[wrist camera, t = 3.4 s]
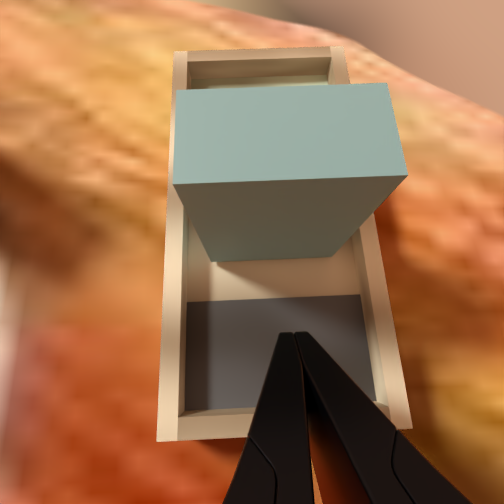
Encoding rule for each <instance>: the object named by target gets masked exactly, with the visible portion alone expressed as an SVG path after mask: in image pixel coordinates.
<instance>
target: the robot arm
mask: <svg viewBox="0 0 504 504" xmlns="http://www.w3.org/2000/svg"><path fill="white" fill-rule="evenodd" d="M310 454H311V455H310ZM311 458H312V462H313V466H314V470H315V474H316V478H317V482H318V486H319V490H320V494H321V498H322V502H323V504H473V503H472V502H471V501H470V500H468V499H467V498H466V497H465V496H464V495H463V494H462V493H461V492H460V491H459V490H458V489H457V488H456V487H455V486H454V485H452V484H451V483H450V482H449V481H448V480H447V479H446V478H445V477H444V476H443V475H442V474H441V473H440V472H439V471H438V470H437V469H436V468H435V467H434V466H433V465H432V464H431V463H430V462H429V461H428V460H427V459H426V458H425V457H424V456H423V455H422V454H421V453H420V452H419V451H418V450H417V449H416V448H415V447H414V445H413V444H412V443H411V442H410V441H409V440H408V439H407V438H406V437H405V436H404V435H403V434H402V433H401V431H400V430H396V426H395V425H394V424H393V423H392V422H391V421H390V420H389V419H388V417H387V416H386V415H385V414H384V413H383V412H382V411H381V410H380V409H379V408H378V407H377V406H376V404H375V403H374V402H373V401H372V400H371V399H370V398H369V397H368V396H367V395H366V394H365V393H364V391H363V390H362V389H361V388H360V387H359V386H358V385H357V384H356V383H355V382H354V381H353V380H352V378H351V377H350V376H349V375H348V374H347V373H346V372H345V371H344V370H343V369H342V368H341V366H340V365H339V364H338V363H337V362H336V361H335V360H334V359H333V358H332V357H331V356H330V355H329V353H328V352H327V351H326V350H325V349H324V348H323V347H322V346H321V345H320V344H319V343H318V342H317V340H316V339H315V338H314V337H313V336H312V335H311V334H310V333H309V332H308V331H296V332H294V334H293V332H280V333H279V334H278V338H277V341H276V344H275V347H274V350H273V354H272V357H271V360H270V363H269V367H268V370H267V373H266V376H265V380H264V383H263V386H262V389H261V393H260V396H259V399H258V402H257V405H256V409H255V412H254V415H253V418H252V422H251V425H250V428H249V431H248V435H247V438H246V440H245V444H244V447H243V450H242V453H241V456H240V459H239V462H238V465H237V468H236V471H235V473H234V476H233V479H232V481H231V484H230V486H229V489H228V491H227V494H226V496H225V498H224V501H223V503H222V504H315V502H314V490H313V478H312V466H311Z"/></svg>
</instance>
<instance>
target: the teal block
mask: <svg viewBox="0 0 504 504" xmlns="http://www.w3.org/2000/svg"><path fill="white" fill-rule="evenodd" d="M407 176H408V172H407V168H406V164H405V159H404V155H403V150H402V146H401V142H400V137H399V133H398V129H397V124H396V120H395V116H394V111H393V107H392V102H391V98H390V94H389V89H388V85H387V83H367V84H338V85H308V86H279V87H249V88H220V89H190V90H176V109H175V135H174V160H173V186H174V188H175V190H176V192H177V194H178V196H179V198H180V200H181V202H182V204H183V206H184V208H185V210H186V212H187V214H188V216H189V218H190V220H191V222H192V224H193V226H194V228H195V230H196V232H197V234H198V236H199V238H200V240H201V242H202V245H203V247H204V249H205V251H206V253H207V255H208V257H209V259H210V261H211V262H226V261H249V260H273V259H296V258H320V257H332V256H333V255H334V254H335V253H336V252H337V251H338V250H339V249H340V248H341V247H342V245H343V244H344V243H345V242H346V241H347V240H348V239H349V238H350V237H351V236H352V235H353V234H354V233H355V231H356V230H357V229H358V228H359V227H360V226H361V225H362V224H363V223H364V222H365V221H366V220H367V219H368V218H369V216H370V215H371V214H372V213H373V212H374V211H375V210H376V209H377V208H378V207H379V206H380V205H381V204H382V203H383V201H384V200H385V199H386V198H387V197H388V196H389V195H390V194H391V193H392V192H393V191H394V190H395V189H396V188H397V186H398V185H399V184H400V183H401V182H402V181H403V180H404V179H405V178H406V177H407Z"/></svg>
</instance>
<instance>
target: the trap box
mask: <svg viewBox="0 0 504 504" xmlns="http://www.w3.org/2000/svg"><path fill="white" fill-rule="evenodd" d="M338 84H350V80H349V74H348V69H347V63H346V58H345V52H344V47H343V46H331V47H300V48H268V49H237V50H206V51H175V52H174V58H173V80H172V103H171V126H170V148H169V171H168V193H167V216H166V239H165V261H164V284H163V306H162V329H161V352H160V374H159V397H158V420H157V442H162V441H182V440H201V439H220V438H240V437H247V435H248V431H249V428H250V425H251V422H252V418H253V415H254V412H255V409H256V405H257V402H258V399H259V396H260V393H261V389H262V386H263V383H264V380H265V376H266V373H267V370H268V367H269V363H270V360H271V357H272V354H273V350H274V347H275V344H276V341H277V338H278V334H279V333H280V332H293V334H294V332H296V331H308V332H309V333H310V334H311V335H312V336H313V337H314V338H315V339H316V340H317V342H318V343H319V344H320V345H321V346H322V347H323V348H324V349H325V350H326V351H327V352H328V353H329V355H330V356H331V357H332V358H333V359H334V360H335V361H336V362H337V363H338V364H339V365H340V366H341V368H342V369H343V370H344V371H345V372H346V373H347V374H348V375H349V376H350V377H351V378H352V380H353V381H354V382H355V383H356V384H357V385H358V386H359V387H360V388H361V389H362V390H363V391H364V393H365V394H366V395H367V396H368V397H369V398H370V399H371V400H372V401H373V402H374V403H375V404H376V406H377V407H378V408H379V409H380V410H381V411H382V412H383V413H384V414H385V415H386V416H387V417H388V419H389V420H390V421H391V422H392V423H393V424H394V425H395V426H396V429H413V426H412V421H411V415H410V410H409V404H408V399H407V393H406V388H405V382H404V377H403V371H402V366H401V360H400V355H399V349H398V344H397V338H396V333H395V327H394V322H393V316H392V311H391V305H390V300H389V294H388V289H387V283H386V278H385V272H384V267H383V261H382V256H381V250H380V245H379V239H378V234H377V228H376V223H375V217H374V212H373V213H372V214H371V215H370V216H369V218H368V219H367V220H366V221H365V222H364V223H363V224H362V225H361V226H360V227H359V228H358V229H357V230H356V231H355V233H354V234H353V235H352V236H351V237H350V238H349V239H348V240H347V241H346V242H345V243H344V244H343V245H342V247H341V248H340V249H339V250H338V251H337V252H336V253H335V254H334V255H333V256H332V257H320V258H296V259H273V260H249V261H226V262H211V261H210V259H209V257H208V255H207V253H206V251H205V249H204V247H203V245H202V242H201V240H200V238H199V236H198V234H197V232H196V230H195V228H194V226H193V224H192V222H191V220H190V218H189V216H188V214H187V212H186V210H185V208H184V206H183V204H182V202H181V200H180V198H179V196H178V194H177V192H176V190H175V188H174V186H173V160H174V135H175V109H176V90H190V89H220V88H249V87H279V86H308V85H338Z"/></svg>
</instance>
